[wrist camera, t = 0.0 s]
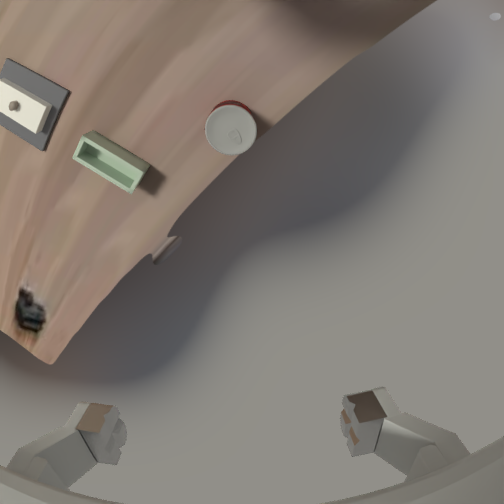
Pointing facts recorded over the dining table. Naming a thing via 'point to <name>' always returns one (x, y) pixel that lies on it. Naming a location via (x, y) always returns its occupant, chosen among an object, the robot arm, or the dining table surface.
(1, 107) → the lid
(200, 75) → the dining table surface
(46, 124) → the mat
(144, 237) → the dining table surface
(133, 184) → the pale green open box
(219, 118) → the canned food
